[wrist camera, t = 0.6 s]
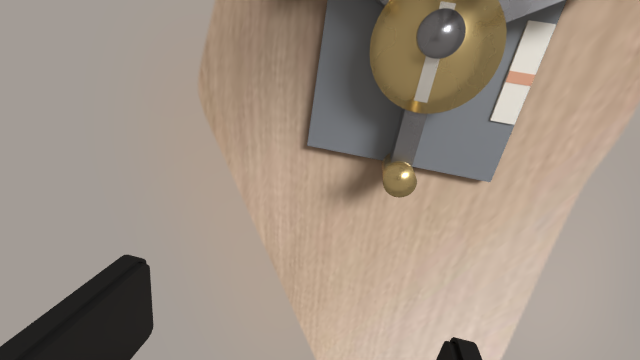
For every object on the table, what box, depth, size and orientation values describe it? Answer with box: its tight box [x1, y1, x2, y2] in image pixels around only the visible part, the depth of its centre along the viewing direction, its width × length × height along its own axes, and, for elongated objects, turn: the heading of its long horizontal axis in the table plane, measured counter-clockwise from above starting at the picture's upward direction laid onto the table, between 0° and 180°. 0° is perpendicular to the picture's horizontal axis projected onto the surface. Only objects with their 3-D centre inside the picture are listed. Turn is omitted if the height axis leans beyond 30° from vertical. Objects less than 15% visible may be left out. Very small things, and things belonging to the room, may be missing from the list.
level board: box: [307, 0, 567, 182], centre depth 23 cm, size 20×16×1 cm
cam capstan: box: [370, 0, 563, 197], centre depth 21 cm, size 17×20×4 cm
